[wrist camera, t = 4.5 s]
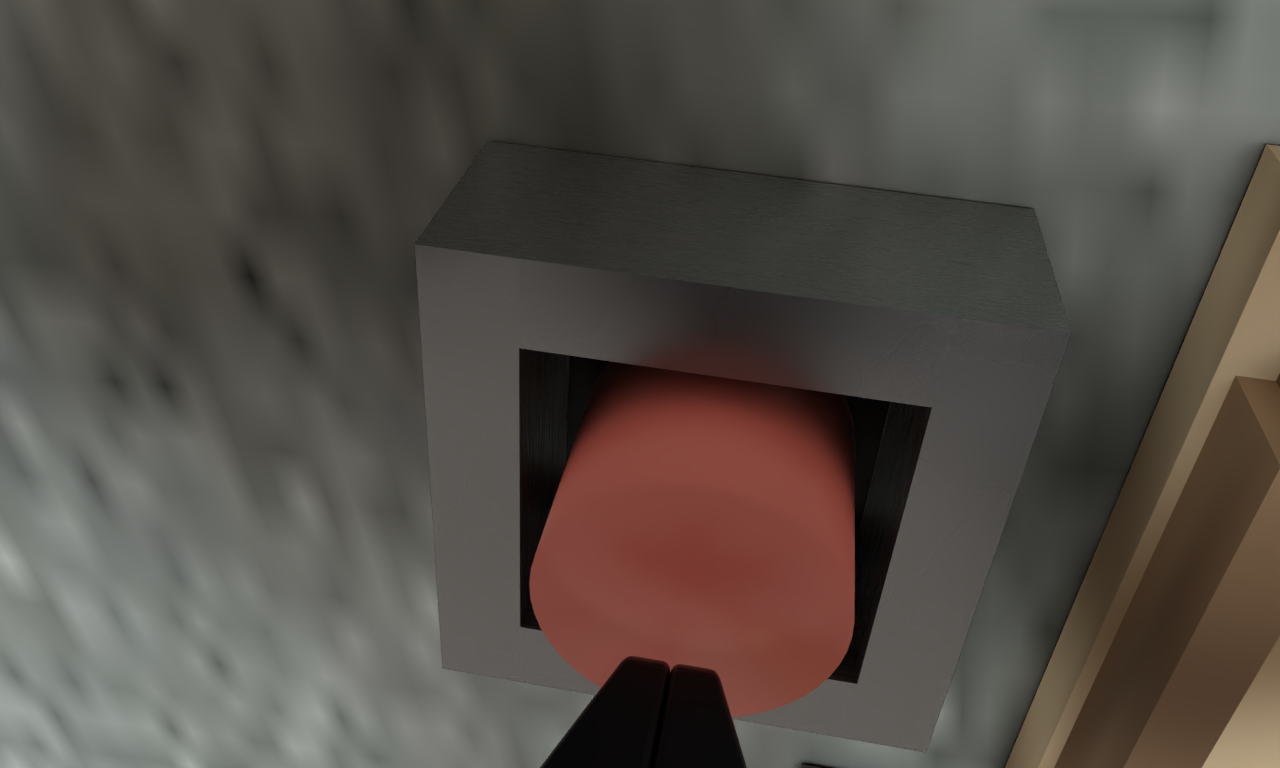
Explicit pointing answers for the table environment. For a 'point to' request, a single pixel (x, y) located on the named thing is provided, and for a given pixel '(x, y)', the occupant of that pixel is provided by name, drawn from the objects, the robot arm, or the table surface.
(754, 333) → the button housing
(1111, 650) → the tray
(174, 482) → the table surface
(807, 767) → the mat
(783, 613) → the button
